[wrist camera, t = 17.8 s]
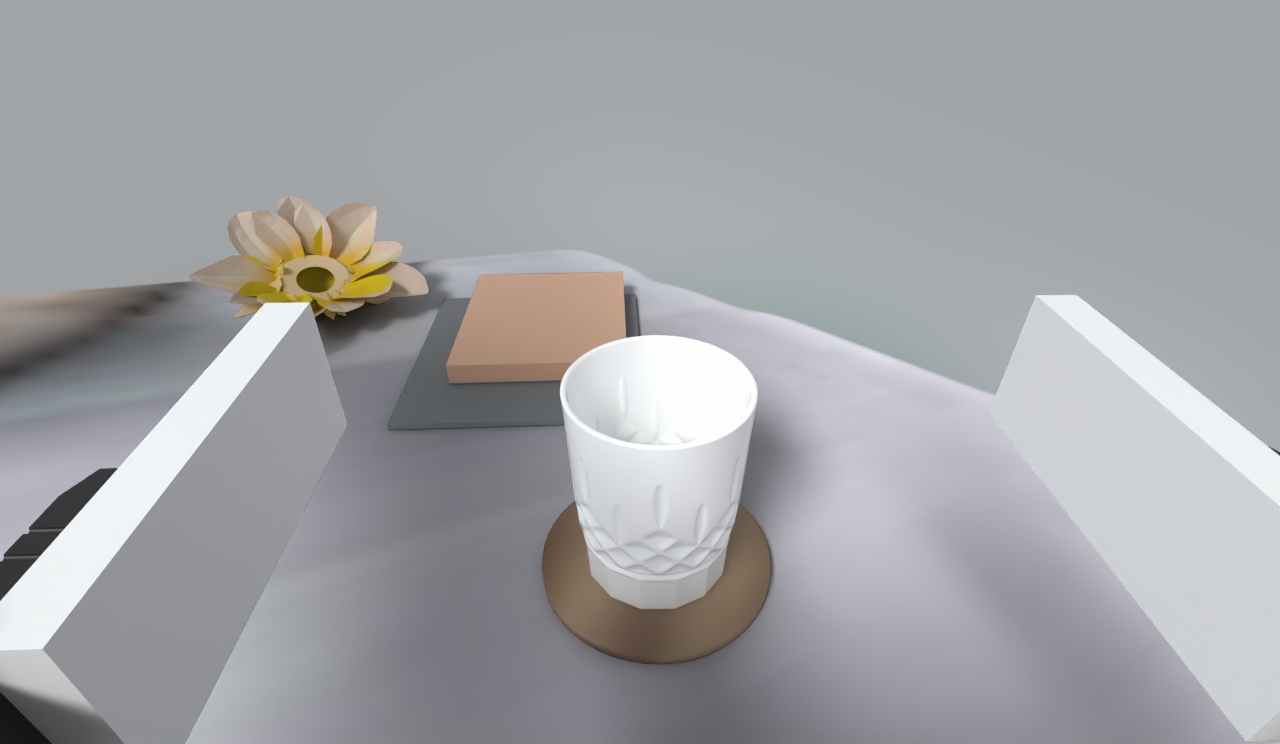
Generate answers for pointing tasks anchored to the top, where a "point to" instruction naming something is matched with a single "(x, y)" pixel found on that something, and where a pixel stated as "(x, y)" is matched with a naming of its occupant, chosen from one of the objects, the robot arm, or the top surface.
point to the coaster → (656, 629)
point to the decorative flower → (311, 260)
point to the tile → (535, 325)
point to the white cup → (657, 463)
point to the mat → (476, 385)
